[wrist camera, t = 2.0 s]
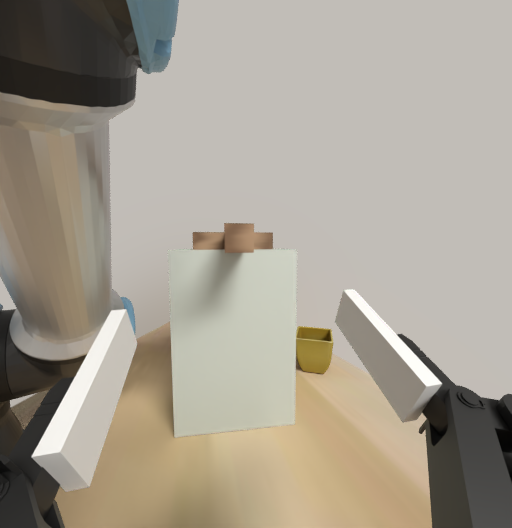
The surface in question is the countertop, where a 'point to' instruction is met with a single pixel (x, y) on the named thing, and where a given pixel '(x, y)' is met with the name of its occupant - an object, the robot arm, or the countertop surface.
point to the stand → (232, 339)
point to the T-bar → (233, 239)
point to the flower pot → (314, 349)
